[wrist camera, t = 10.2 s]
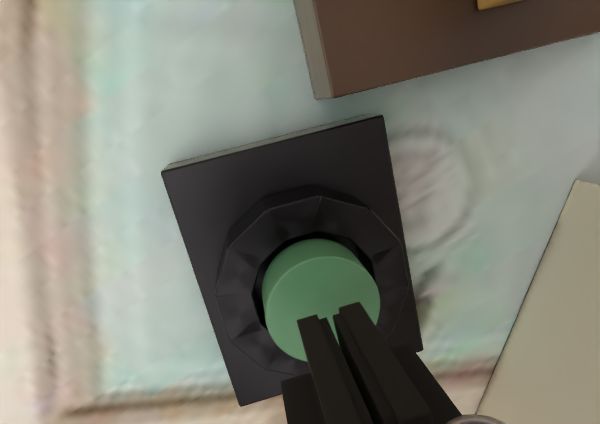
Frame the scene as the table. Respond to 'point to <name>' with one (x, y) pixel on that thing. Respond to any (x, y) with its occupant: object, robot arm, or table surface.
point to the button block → (290, 234)
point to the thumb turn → (493, 3)
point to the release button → (313, 289)
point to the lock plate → (425, 36)
